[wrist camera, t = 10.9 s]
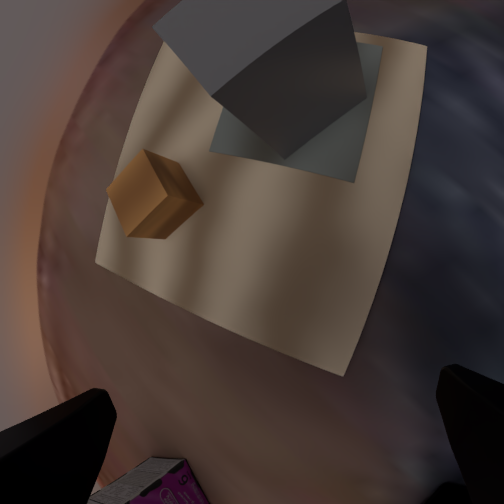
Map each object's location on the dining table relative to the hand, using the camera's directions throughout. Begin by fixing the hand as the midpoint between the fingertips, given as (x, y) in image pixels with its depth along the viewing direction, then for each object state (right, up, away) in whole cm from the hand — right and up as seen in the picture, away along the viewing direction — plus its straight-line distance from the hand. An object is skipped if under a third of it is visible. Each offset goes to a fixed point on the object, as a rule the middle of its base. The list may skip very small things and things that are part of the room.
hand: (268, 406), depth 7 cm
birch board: (-1, +10, +14) cm, 17 cm away
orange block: (-6, +7, +15) cm, 18 cm away
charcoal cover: (+2, +14, +11) cm, 18 cm away
